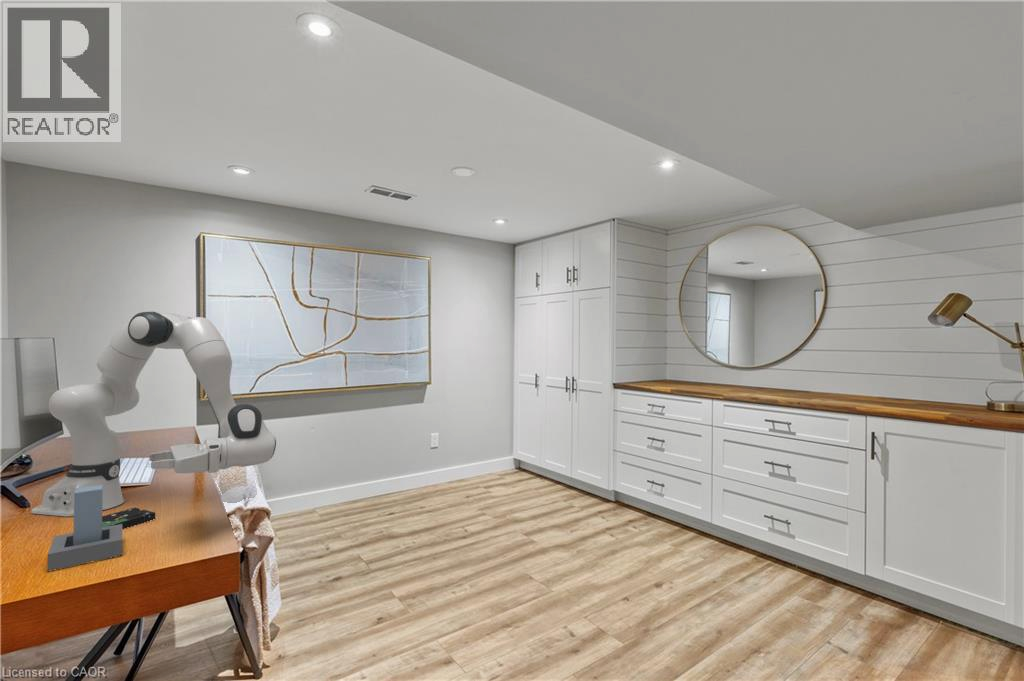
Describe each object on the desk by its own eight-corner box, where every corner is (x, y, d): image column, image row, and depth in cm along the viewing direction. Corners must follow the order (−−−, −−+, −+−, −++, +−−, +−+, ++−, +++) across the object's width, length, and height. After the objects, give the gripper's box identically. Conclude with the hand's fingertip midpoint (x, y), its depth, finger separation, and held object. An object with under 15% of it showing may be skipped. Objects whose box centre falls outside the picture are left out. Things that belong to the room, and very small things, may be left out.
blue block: (74, 553, 116) (75, 488, 116) (101, 548, 119) (102, 484, 119) (72, 560, 112) (74, 493, 112) (100, 554, 115) (102, 489, 115)
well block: (53, 552, 116) (53, 536, 116) (122, 539, 124) (122, 523, 125) (47, 572, 106) (47, 554, 106) (122, 556, 114) (122, 539, 115)
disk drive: (134, 516, 143) (73, 533, 129) (134, 507, 143) (74, 523, 129) (155, 521, 139) (95, 539, 125) (156, 511, 139) (95, 528, 125)
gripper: (207, 437, 140) (148, 442, 131) (218, 450, 124) (152, 456, 116) (206, 458, 140) (148, 464, 131) (217, 473, 124) (151, 482, 116)
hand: (150, 461), depth 123 cm, fingers open, 8 cm apart
